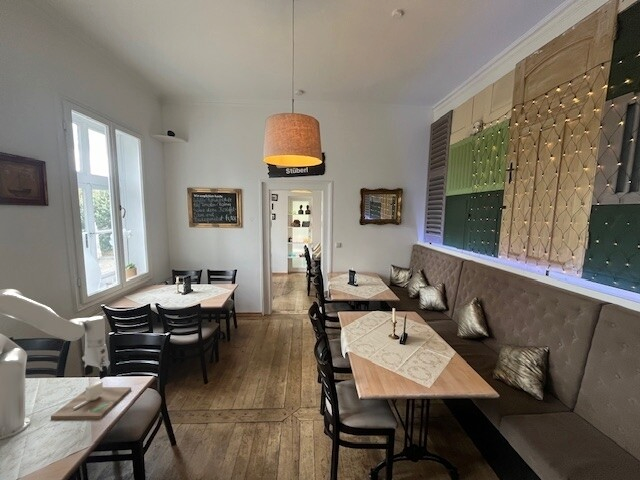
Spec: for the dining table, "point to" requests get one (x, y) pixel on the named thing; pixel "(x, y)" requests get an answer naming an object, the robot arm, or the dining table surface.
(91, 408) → the panel
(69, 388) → the dining table surface
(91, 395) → the peg knob
